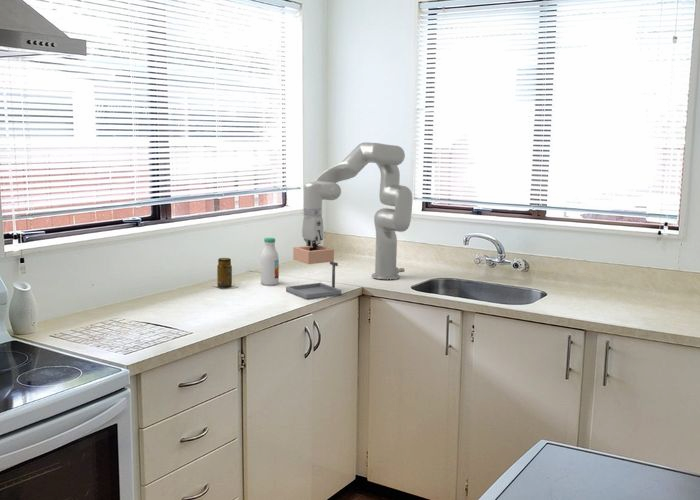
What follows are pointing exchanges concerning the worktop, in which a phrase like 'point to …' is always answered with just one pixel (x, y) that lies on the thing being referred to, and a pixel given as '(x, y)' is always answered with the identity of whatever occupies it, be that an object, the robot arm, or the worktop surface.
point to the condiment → (224, 274)
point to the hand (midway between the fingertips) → (311, 256)
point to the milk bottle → (269, 263)
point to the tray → (313, 290)
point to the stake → (333, 272)
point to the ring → (313, 254)
